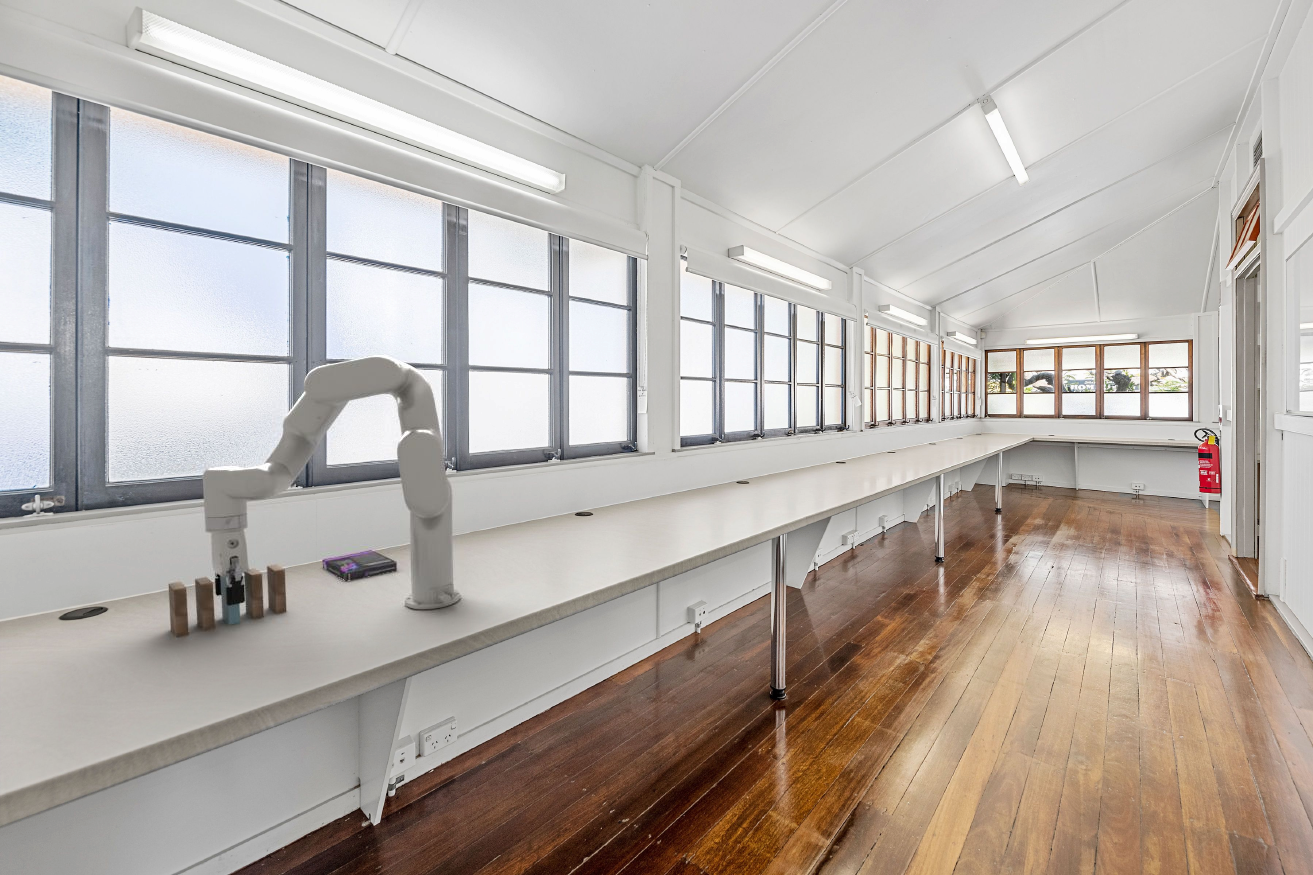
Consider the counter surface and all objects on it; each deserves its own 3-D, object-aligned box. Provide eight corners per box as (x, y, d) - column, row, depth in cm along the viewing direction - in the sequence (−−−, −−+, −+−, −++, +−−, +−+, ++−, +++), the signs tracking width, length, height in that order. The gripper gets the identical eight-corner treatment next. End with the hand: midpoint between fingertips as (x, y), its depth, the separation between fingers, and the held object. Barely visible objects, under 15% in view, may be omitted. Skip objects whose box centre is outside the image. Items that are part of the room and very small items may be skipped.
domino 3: (233, 615, 133) (231, 572, 132) (240, 622, 129) (238, 577, 128) (222, 617, 131) (220, 574, 131) (229, 624, 127) (227, 579, 127)
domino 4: (256, 610, 136) (254, 568, 136) (263, 616, 132) (262, 573, 132) (246, 612, 135) (244, 570, 134) (253, 619, 131) (251, 575, 130)
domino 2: (208, 621, 130) (206, 576, 129) (215, 628, 126) (212, 582, 125) (197, 623, 128) (194, 578, 127) (203, 630, 124) (201, 584, 123)
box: (322, 570, 172) (345, 583, 158) (322, 559, 172) (344, 570, 158) (372, 560, 182) (397, 572, 168) (371, 549, 181) (397, 560, 168)
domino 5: (278, 605, 140) (276, 564, 139) (286, 611, 136) (284, 568, 135) (268, 607, 138) (266, 565, 138) (276, 613, 134) (274, 570, 134)
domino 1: (182, 627, 126) (180, 581, 126) (188, 634, 122) (186, 587, 122) (170, 629, 125) (168, 583, 124) (176, 637, 121) (173, 589, 120)
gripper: (257, 525, 126) (261, 603, 127) (236, 515, 137) (239, 586, 138) (215, 531, 120) (219, 612, 121) (196, 520, 132) (200, 594, 133)
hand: (230, 598), depth 130 cm, fingers open, 9 cm apart
